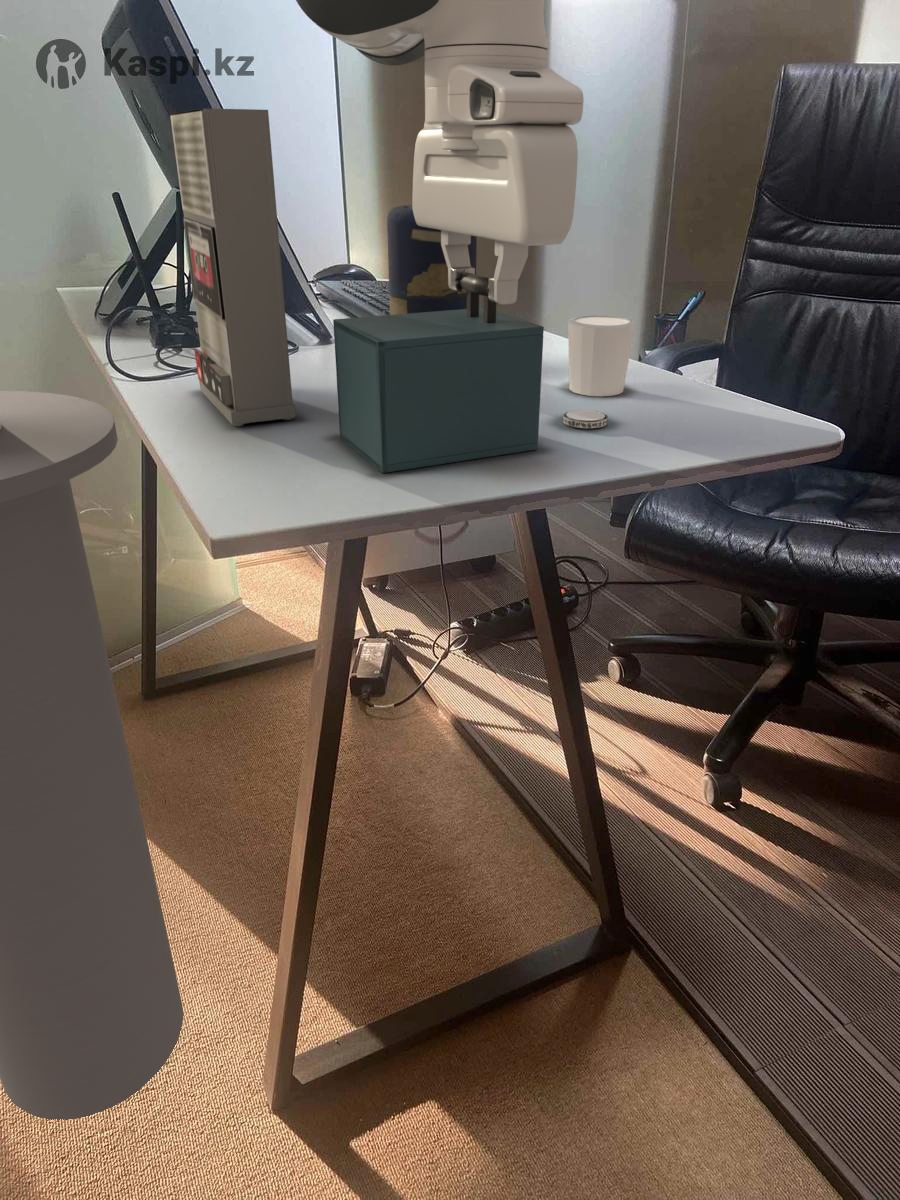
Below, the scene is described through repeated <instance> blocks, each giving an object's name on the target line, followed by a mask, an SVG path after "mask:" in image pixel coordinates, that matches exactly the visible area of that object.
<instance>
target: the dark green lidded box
mask: <svg viewBox="0 0 900 1200" xmlns="http://www.w3.org/2000/svg"><path fill="white" fill-rule="evenodd" d="M489 278H490V277H487V276H484V275H481V274H477V273H476V274H472V273H466V274H464V275H463V276H462V277H461V280H460V284H461V287H462V288H463V289H464V290H466V291H467V309H460V310H447V311H434V312H422V313H409V314H396V315H390V314H386V315H385V314H384V315H374V316H373V315H372V316H360V317H347V318H345V317H344V318H333V321H332V324H333V339H334V340H333V343H334V356H335V357H334V358H335V372H336V373H335V374H336V389H337V406H338V423H339V438H340V439H341V441H343V442H344V443H345V444H347V446H349V447H350V448H351V449H352V450H354V451H355V452H356V453H357V454H359V455H360V456H361V457H362V458H363V459H365V460H366V461H367V462H368V463H370V465H372V466H373V467H374V468H376V469H377V470H378V471H379V472H380V473H381V474H386V473H393V472H399V471H405V470H411V469H419V468H425V467H432V466H437V465H438V466H439V465H444V464H445V465H446V464H451V463H457V462H464V461H471V460H477V459H483V458H491V457H496V456H502V455H510V454H516V453H522V452H523V453H524V452H528V451H535V450H536V451H537V450H538V448H539V447H538V446H539V443H538V442H539V429H540V412H541V411H540V409H541V389H542V371H543V350H544V332H545V331H544V329H545V328H544V325H541V324H536V323H535V322H534V323H533V322H531V321H528V320H524V319H521V318H519V317H516V316H512V315H509V314H506V313H502V312H501V311H500V312H499V311H497V303H494V302H491V301H490V300H489V297H488V293H489ZM480 296H482V297H483V307H480Z"/></svg>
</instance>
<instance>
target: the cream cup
mask: <svg viewBox="0 0 900 1200" xmlns="http://www.w3.org/2000/svg"><path fill="white" fill-rule="evenodd" d="M636 325H637V322H636V321H634V320H633V319H629V318H625V317H619V316H611V315H583V316H576V317H572V318H569V319H568V320H567V335H568V339H567V340H568V381H569V383H568V384H569V385H568V386H569V391H571V392H572V393H575V394H578V395H582V396H588V397H612V396H617V395H620V394H622V393H624V389H625V383H626V377H627V373H628V367H629V363H630V357H631V352H632V348H633V347H632V346H633V341H634V336H635V330H636V327H637V326H636Z"/></svg>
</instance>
